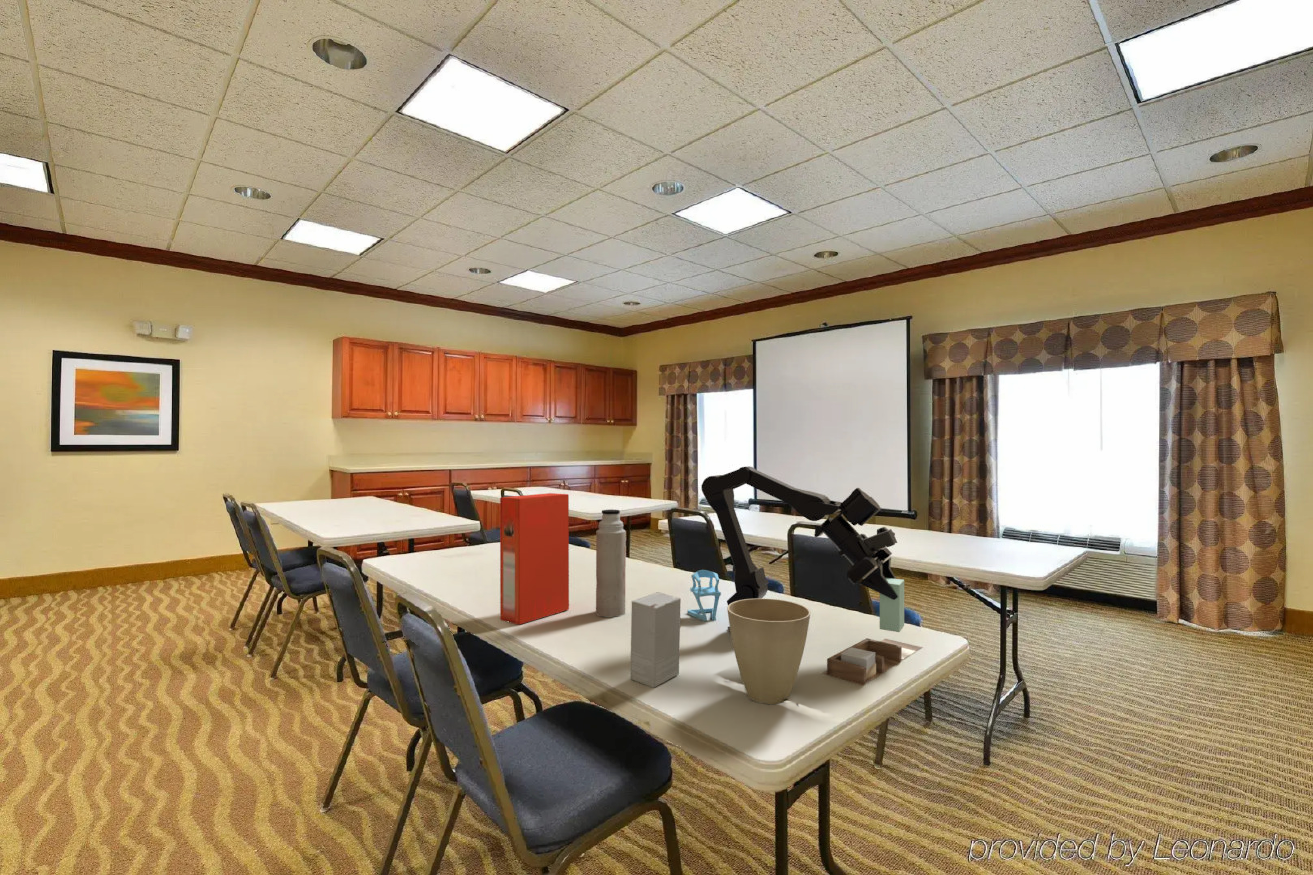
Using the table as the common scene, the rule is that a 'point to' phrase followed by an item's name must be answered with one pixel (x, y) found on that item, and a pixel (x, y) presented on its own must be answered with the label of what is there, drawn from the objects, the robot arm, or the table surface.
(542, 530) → the file binder
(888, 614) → the mint green block
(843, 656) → the grey offcut slab
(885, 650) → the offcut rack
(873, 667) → the birch offcut slab
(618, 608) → the thermos bottle
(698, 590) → the chair
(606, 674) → the table surface
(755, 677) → the plant pot
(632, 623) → the skincare box
